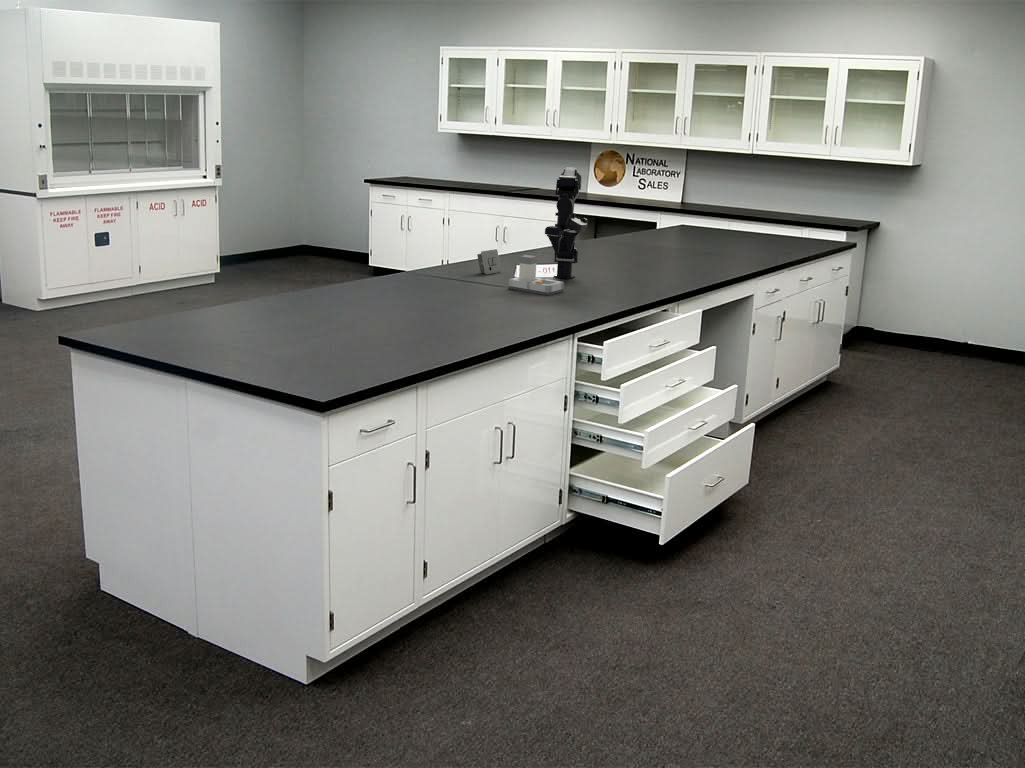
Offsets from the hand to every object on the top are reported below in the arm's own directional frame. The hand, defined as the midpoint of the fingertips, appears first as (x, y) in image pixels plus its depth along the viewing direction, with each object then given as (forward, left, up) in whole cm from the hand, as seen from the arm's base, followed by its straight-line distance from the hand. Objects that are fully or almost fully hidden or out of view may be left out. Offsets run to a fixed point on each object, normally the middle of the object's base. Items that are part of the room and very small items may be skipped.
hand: (563, 252), depth 379 cm
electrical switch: (-3, -36, -13) cm, 38 cm away
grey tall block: (+13, -7, -12) cm, 19 cm away
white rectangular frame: (+13, -3, -13) cm, 19 cm away
